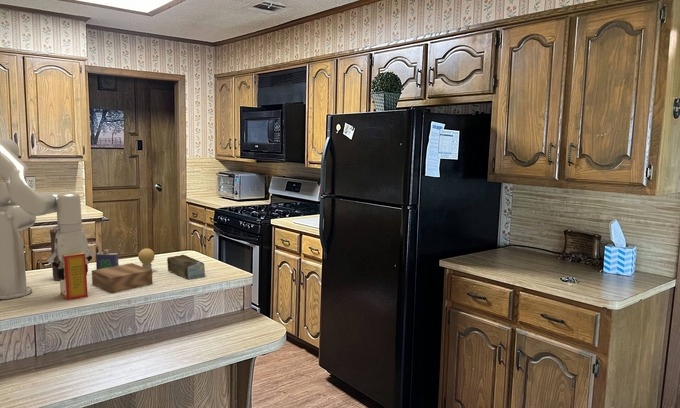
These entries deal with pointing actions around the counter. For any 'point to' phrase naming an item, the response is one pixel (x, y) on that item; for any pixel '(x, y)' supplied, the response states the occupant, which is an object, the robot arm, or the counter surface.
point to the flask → (106, 260)
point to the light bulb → (146, 257)
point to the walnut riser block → (121, 277)
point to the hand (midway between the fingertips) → (73, 276)
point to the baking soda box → (74, 277)
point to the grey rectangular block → (186, 267)
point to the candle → (53, 235)
